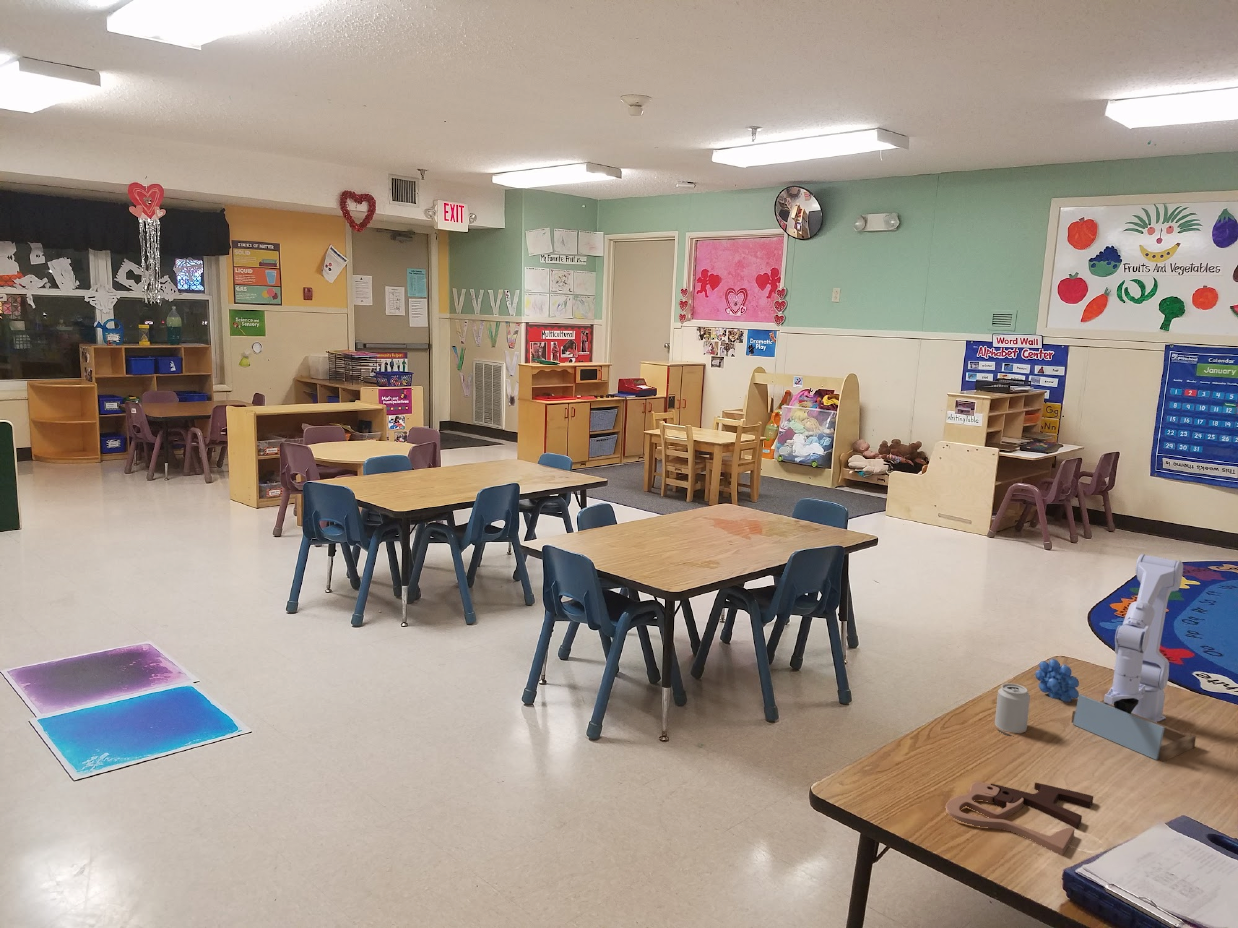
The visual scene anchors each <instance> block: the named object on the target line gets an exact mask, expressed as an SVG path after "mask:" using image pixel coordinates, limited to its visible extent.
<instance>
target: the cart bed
mask: <svg viewBox="0 0 1238 928" xmlns="http://www.w3.org/2000/svg"><path fill="white" fill-rule="evenodd" d="M1099 702H1101V703H1104V704H1106V705H1109V706H1111V707H1114V704H1113V705H1111V704H1108V703H1106V702H1104V699H1103V700H1101V701H1099ZM1114 708H1115V707H1114ZM1075 712H1076V709H1075V710H1072V713H1071V714H1072V716H1071V723H1072V724H1073V722H1074V717H1075ZM1131 714H1132V715H1134V716H1137V717H1139V718H1142V719H1144V720H1147V721H1150V722H1152V723H1155V724H1157V725H1160V726H1162V727H1165V728H1164V733H1163V738H1162V743H1161V747H1160V752H1159V757H1158V760H1159V761H1161V762H1165V761H1167V760H1170V759H1172V758H1175V757H1176V756H1179V755H1181V754H1183V753H1185V752H1187V751H1190V750H1193V749H1195V747H1196V746H1195V745H1196V738H1197V736H1196V735H1194V734H1193V733H1190V734H1187V733H1184V732H1182V731H1179V730H1176V729H1174V728H1171V727H1170V726H1166V725H1164V724H1162V723H1159V722H1154V721H1151V720H1149V719H1146V718H1144V717H1141V716H1139V715H1136V714H1134V713H1131Z"/></svg>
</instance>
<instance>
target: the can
mask: <svg viewBox="0 0 1238 928" xmlns="http://www.w3.org/2000/svg"><path fill="white" fill-rule="evenodd" d="M1028 691H1029V690H1028V688H1026V686H1024V685H1021V684H1017V683H1010V682H1008V683H1003V684H1001V685H1000V688H999V689H998V690H997V697H996V705H995V706H996V708H995V709H996V710H995V716H994V717H995V718H994V725H995V726H996V729H997V731H998V732H999V733H1000V732H1001V733H1000V734H1002V733H1003V734H1002V735H1004V736H1007V737H1011V736H1013V738H1015V736H1014V735H1011V734H1009V733H1013V734H1022V733H1024V732H1025V733H1026V731H1027V729H1028V728H1027V727H1028V720H1029V711H1030V710H1029V709H1030V702H1031V701H1030V700H1031V696H1030V694H1029V693H1028ZM1007 732H1008V733H1007Z"/></svg>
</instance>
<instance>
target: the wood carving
mask: <svg viewBox="0 0 1238 928" xmlns="http://www.w3.org/2000/svg"><path fill="white" fill-rule="evenodd" d="M1033 787H1034V788H1033V789H1034V790H1036V791H1037V790H1038V791H1037V792H1036V793H1030V792H1027V791H1023V790H1020V789H1016V788H1013V787H1011V788H1010V787H1007V786H1003V785H1000V784H996V783H995V784H994V783H986V782H982V781H974V782H973V783H972V784H971V785H970V790H969V792H968V793H965V794H962V795H961V794H960V795H957V796H955V797H953V798H951V799H949V800H948V801H947V802H946V804H945V808H946V812H947V813H948V814H949V815H950V816H952V817H953V818H955V819H957V820H959V821H961V822H964V823H967V824H972V825H974V826H980V827H988V828H997V829H996V830H1001V829H1005V830H1004V831H1007V832H1009V831H1011V832H1010V833H1012V832H1014V833H1016V834H1015V835H1017V834H1019V835H1021V836H1020V837H1022V836H1024V837H1026V838H1028V839H1031V840H1033V841H1034V842H1033V841H1032V842H1033V843H1035V842H1036V843H1035V844H1037V845H1038V846H1041V845H1042V846H1041V847H1043V848H1045V847H1046V848H1045V849H1047V850H1049V851H1051V850H1052V852H1053V853H1055V854H1057V853H1058V854H1057V855H1060V856H1062V855H1063V856H1064V855H1065V853H1066V851H1067V849H1068V847H1069V846H1070V844H1071V842H1072V841H1073V839H1074V838H1075V830H1078V829H1079V828H1080V826H1081V824H1082V819H1083V818H1082V817H1083V816H1082V815H1081V814H1079V813H1077V812H1075V811H1072V810H1070V809H1067V808H1065V807H1063V806H1060V805H1059V804H1056V803H1057V802H1058V801H1061V802H1064V803H1065V802H1066V803H1068V804H1073V805H1076V806H1079V807H1083V808H1086V809H1091V807H1092V805H1093V802H1094V795H1090V794H1086V793H1083V792H1078V791H1074V790H1072V789H1071V790H1070V789H1066V788H1061V787H1056V786H1052V785H1049V784H1045V783H1040V782H1034V786H1033ZM974 800H983V801H988V802H994V803H993V805H995V806H996V805H997V806H996V807H999V806H1000V807H999V808H1002V809H1000V810H998V811H996V810H993V809H991V808H989V807H986V806H985V805H981V804H980V803H978V802H977V801H975V802H974ZM1024 805H1025V806H1027V807H1029V806H1030V808H1032V809H1034V810H1037V811H1039V812H1041V813H1044V814H1046V815H1048V816H1050V817H1052V818H1054V819H1056V820H1058V821H1060V822H1062V823H1064V824H1065V825H1069V827H1066V828H1062V829H1059V830H1057V831H1056V832H1054V833H1052V834H1050V835H1047V834H1044V833H1042V832H1039V831H1036V830H1034V829H1031V828H1027V827H1025V826H1022V825H1020V824H1017V823H1015V822H1013V821H1011V820H1006V818H1009V817H1010V816H1012V815H1014V814H1015V813H1017V812H1019V811H1020V810H1022V809H1023V807H1024ZM965 806H967V807H969V808H971V809H973V810H975V811H978V812H979V813H982V814H984V815H985V816H987V817H989V818H987V817H985V816H983V817H982V816H978V815H977V816H976V815H972V814H970V813H965V812H963V811H960V810H961V809H962V808H963V807H965ZM1013 813H1014V814H1013ZM1004 818H1005V819H1004ZM1014 833H1013V834H1014ZM1019 835H1018V836H1019ZM1024 837H1023V838H1024ZM1026 838H1025V839H1026ZM1028 839H1027V840H1028ZM1031 840H1030V841H1031Z"/></svg>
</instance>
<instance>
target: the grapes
mask: <svg viewBox="0 0 1238 928" xmlns="http://www.w3.org/2000/svg"><path fill="white" fill-rule="evenodd" d="M1038 664H1039V665H1038V668H1039V669H1037V670H1036V671H1035V673H1034V675H1035V678H1036V680H1038V681H1039V683H1038V689H1039V690H1040V692H1042V693H1043V694H1048V697H1050V699H1051V698H1052V699H1060V700H1061V702H1064V703H1065V702H1068V703H1069V702H1072V699H1078V697H1079V695H1080V694H1079V691H1078V689H1077V688H1078V687H1079V686H1080V681H1079V679H1078V678H1077V677H1076V676H1074V675H1072V673H1073V672H1072V669H1071V667H1070V666H1069V665H1067V664H1062V665H1061V664H1060V661H1059V660H1057V659H1055V658H1052V659H1050V660H1049V661H1045V660H1043V661H1040V662H1039V663H1038Z"/></svg>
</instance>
